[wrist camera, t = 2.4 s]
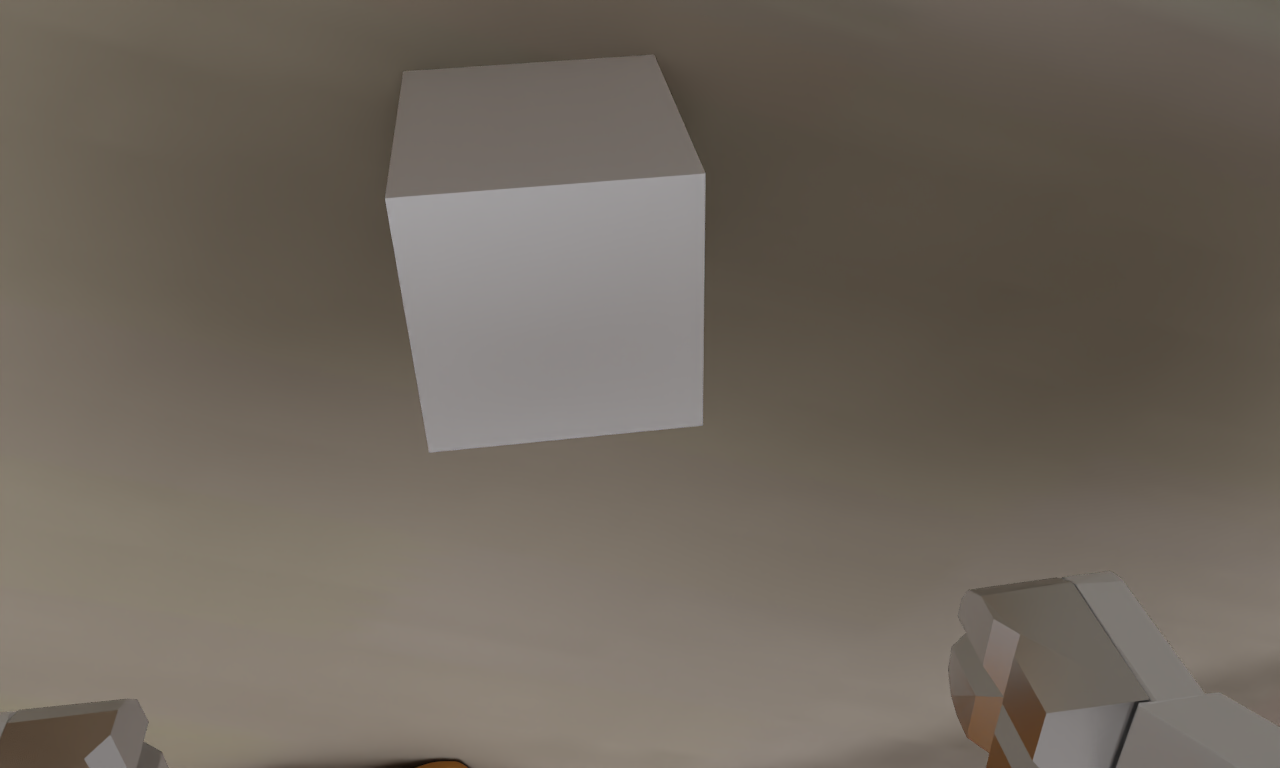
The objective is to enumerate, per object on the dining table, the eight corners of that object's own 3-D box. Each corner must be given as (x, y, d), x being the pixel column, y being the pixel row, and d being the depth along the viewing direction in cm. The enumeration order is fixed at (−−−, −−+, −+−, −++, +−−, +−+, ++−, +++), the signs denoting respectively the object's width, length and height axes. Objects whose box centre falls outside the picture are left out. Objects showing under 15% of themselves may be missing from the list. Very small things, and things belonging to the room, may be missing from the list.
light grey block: (653, 53, 19) (705, 173, 15) (657, 271, 22) (702, 425, 18) (402, 70, 19) (385, 198, 15) (436, 289, 21) (429, 452, 17)
